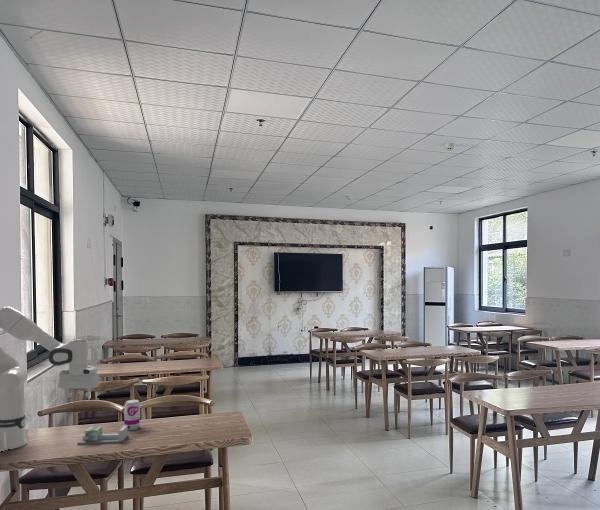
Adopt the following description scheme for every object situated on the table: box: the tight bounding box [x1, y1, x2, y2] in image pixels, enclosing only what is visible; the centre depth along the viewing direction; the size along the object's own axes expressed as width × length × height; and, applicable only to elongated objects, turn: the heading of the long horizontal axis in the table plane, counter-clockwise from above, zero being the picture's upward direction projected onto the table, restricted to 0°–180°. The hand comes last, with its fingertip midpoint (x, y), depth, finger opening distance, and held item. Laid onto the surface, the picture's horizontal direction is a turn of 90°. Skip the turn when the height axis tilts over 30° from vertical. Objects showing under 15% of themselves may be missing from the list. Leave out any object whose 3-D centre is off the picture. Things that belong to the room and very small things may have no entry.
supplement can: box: [123, 399, 141, 431], centre depth 248 cm, size 8×8×15 cm
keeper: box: [84, 425, 103, 441], centre depth 228 cm, size 6×7×5 cm
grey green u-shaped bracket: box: [77, 425, 129, 446], centre depth 228 cm, size 22×10×6 cm, turn 95°
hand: (78, 396), depth 228 cm, fingers open, 8 cm apart
